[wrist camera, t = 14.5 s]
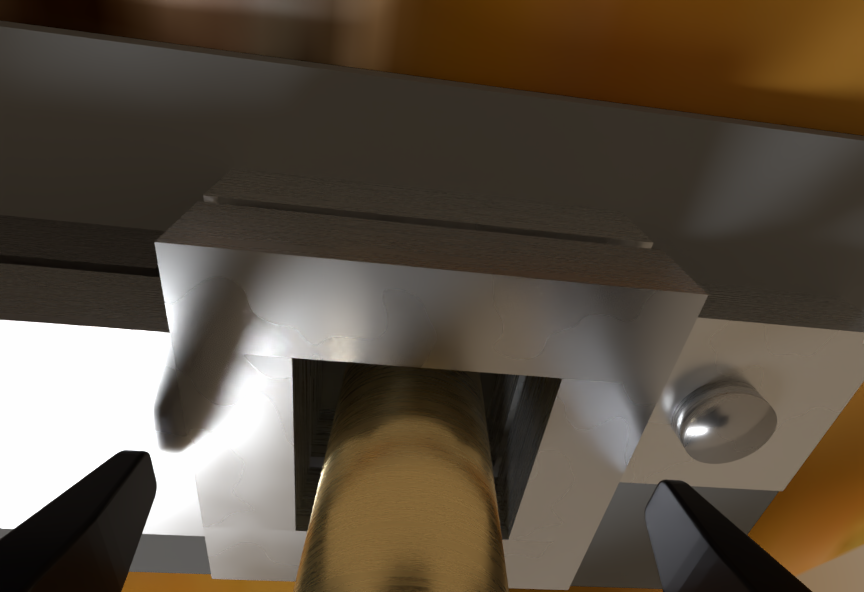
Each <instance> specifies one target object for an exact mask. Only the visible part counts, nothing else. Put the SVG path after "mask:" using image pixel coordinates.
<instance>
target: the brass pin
mask: <svg viewBox="0 0 864 592" xmlns="http://www.w3.org/2000/svg"><path fill="white" fill-rule="evenodd" d="M293 592H509V587H508V580H507V572H506V565H505V557H504V550H503V543H502V535H501V528H500V520H499V513H498V505H497V498H496V490H495V483H494V475H493V468H492V460H491V453H490V445H489V438H488V431H487V423H486V416H485V408H484V401H483V393H482V386H481V378H480V372H472V371H459V370H446V369H432V368H419V367H406V366H392V365H379V364H366V363H353V362H347V365H346V369H345V373H344V377H343V382H342V386H341V390H340V394H339V399H338V403H337V407H336V411H335V416H334V420H333V424H332V428H331V433H330V437H329V441H328V445H327V450H326V454H325V458H324V462H323V467H322V471H321V475H320V479H319V484H318V488H317V492H316V496H315V501H314V505H313V509H312V513H311V518H310V522H309V526H308V530H307V535H306V539H305V543H304V547H303V552H302V556H301V560H300V564H299V569H298V573H297V577H296V581H295V586H294V590H293Z"/></svg>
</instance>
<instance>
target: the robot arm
mask: <svg viewBox="0 0 864 592" xmlns="http://www.w3.org/2000/svg"><path fill="white" fill-rule="evenodd" d="M156 491H157V481H156V477H155V472H154V468H153V464H152V459H151V456H150V454H149V453H148V452H147V451H143V450H122V451H119V452H117V453H116V454H114V455H113V456H112V457H110V458H109V459H108V460H106V461H105V462H104V463H102V464H101V465H100V466H98V467H97V468H95V469H94V470H93V471H91V472H90V473H89V474H87V475H86V476H85V477H83V478H82V479H81V480H79V481H78V482H76V483H75V484H74V485H72V486H71V487H70V488H68V489H67V490H66V491H64V492H63V493H62V494H60V495H59V496H58V497H56V498H55V499H53V500H52V501H51V502H49V503H48V504H47V505H45V506H44V507H43V508H41V509H40V510H39V511H37V512H36V513H34V514H33V515H32V516H30V517H29V518H28V519H26V520H25V521H24V522H22V523H21V524H20V525H18V526H17V527H15V528H14V529H13V530H11V531H10V532H9V533H7V534H6V535H5V536H3V537H2V538H1V539H0V592H121V591H122V588H123V585H124V583H125V580H126V578H127V575H128V572H129V569H130V566H131V564H132V561H133V558H134V555H135V552H136V550H137V547H138V544H139V541H140V538H141V536H142V533H143V530H144V527H145V524H146V522H147V519H148V516H149V513H150V510H151V507H152V505H153V502H154V499H155V496H156ZM645 522H646V526H647V530H648V534H649V538H650V542H651V546H652V550H653V553H654V557H655V561H656V565H657V569H658V573H659V577H660V581H661V585H662V589H663V592H812V591H811V590H810V589H809V588H807V587H806V586H805V585H804V584H803V583H802V582H801V581H799V580H798V579H797V578H796V577H795V576H794V575H792V574H791V573H790V572H789V571H788V570H787V569H786V568H784V567H783V566H782V565H781V564H780V563H779V562H778V561H776V560H775V559H774V558H773V557H772V556H771V555H769V554H768V553H767V552H766V551H765V550H764V549H763V548H761V547H760V546H759V545H758V544H757V543H756V542H755V541H753V540H752V539H751V538H750V537H749V536H748V535H746V534H745V533H744V532H743V531H742V530H741V529H740V528H738V527H737V526H736V525H735V524H734V523H733V522H731V521H730V520H729V519H728V518H727V517H726V516H725V515H723V514H722V513H721V512H720V511H719V510H718V509H717V508H715V507H714V506H713V505H712V504H711V503H710V502H708V501H707V500H706V499H705V498H704V497H703V496H702V495H700V494H699V493H698V492H697V491H696V490H695V489H694V488H692V487H691V486H690V485H689V484H687V483H686V482H684V481H681V480H667V479H665V480H661V481H660V482H659V483H658V484H657V486H656V488H655V490H654V492H653V494H652V496H651V497H650V499H649V501H648V503H647V505H646V508H645Z"/></svg>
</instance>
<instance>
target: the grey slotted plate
mask: <svg viewBox="0 0 864 592" xmlns="http://www.w3.org/2000/svg"><path fill="white" fill-rule="evenodd" d="M203 198H204V202H208V203H218V204H227V205H237V206H247V207H256V208H266V209H276V210H285V211H295V212H304V213H314V214H324V215H333V216H343V217H352V218H362V219H372V220H381V221H391V222H401V223H410V224H420V225H429V226H439V227H449V228H458V229H468V230H477V231H487V232H497V233H506V234H516V235H526V236H535V237H545V238H554V239H564V240H574V241H583V242H593V243H602V244H612V245H622V246H631V247H641V248H650V249H651V247H652V245H653V242H652V241H651V240H650V239H649V238H648V237H647V236H646V235H645V234H644V233H643V232H642V231H641V230H640V229H639V228H638V227H637V226H636V225H635V224H634V223H633V222H632V221H631V220H630V219H629V218H628V217H627V216H626V215H624V214H623V213H622V212H621V211H614V210H605V209H596V208H587V207H578V206H569V205H560V204H551V203H542V202H533V201H524V200H515V199H506V198H497V197H488V196H479V195H470V194H461V193H452V192H443V191H434V190H425V189H416V188H407V187H398V186H389V185H380V184H371V183H362V182H353V181H344V180H335V179H326V178H317V177H308V176H299V175H290V174H281V173H272V172H263V171H254V170H245V169H236V168H232V169H231V170H230V171H229V172H228V173H227V174H226V175H225V176H224V177H222V178H221V179H220V180H219V181H218V182H217V183H216V184H215V185H214V186H213V187H212V188H210V189H209V190H208V191H207V192H206V193H205V194H204V195H203ZM165 232H166V231H161V230H151V229H140V228H130V227H120V226H110V225H99V224H89V223H79V222H69V221H58V220H48V219H38V218H28V217H18V216H7V215H0V263H5V264H16V265H27V266H38V267H50V268H61V269H72V270H83V271H95V272H106V273H117V274H128V275H140V276H151V277H160V273H159V267H158V261H157V255H156V249H155V244H154V242H155V241H156V240H157V239H158V238H159V237H160V236H161V235H162V234H163V233H165ZM697 284H698V285H699V286H700V287H701V288H702V289H703V290H704V291H705V292H706V293H707V294H708V297H707V299H706V301H705V303H704V305H703V307H702V309H701V311H700V314H699V316H698V318H697V320H696V322H695V324H694V326H693V328H692V330H691V333H690V335H689V337H688V339H687V341H686V343H685V345H684V347H683V349H682V351H681V354H680V356H679V358H678V360H677V362H676V364H675V366H674V368H673V370H672V372H671V375H670V377H669V379H668V381H667V383H666V385H665V387H664V389H663V391H662V394H661V396H660V398H659V400H658V402H657V404H656V406H655V408H654V410H653V412H652V415H651V417H650V419H649V421H648V423H647V425H646V427H645V429H644V431H643V434H642V436H641V438H640V440H639V442H638V444H637V446H636V448H635V450H634V452H633V455H632V457H631V459H630V461H629V463H628V465H627V467H626V469H625V471H624V474H623V476H622V478H621V480H620V482H625V483H643V484H658V483H659V482H660V481H661V480H665V479H667V480H681V481H684V482H686V483H687V484H689V485H690V486H698V487H716V488H735V489H753V490H771V491H783V490H784V489H785V488H786V486H787V485H788V484H789V482H790V481H791V479H792V478H793V477H794V475H795V474H796V473H797V471H798V470H799V469H800V467H801V466H802V464H803V463H804V462H805V460H806V459H807V458H808V456H809V455H810V454H811V452H812V451H813V449H814V448H815V447H816V445H817V444H818V443H819V441H820V440H821V439H822V437H823V436H824V435H825V433H826V432H827V430H828V429H829V428H830V426H831V425H832V424H833V422H834V421H835V420H836V418H837V417H838V415H839V414H840V413H841V411H842V410H843V409H844V407H845V406H846V405H847V403H848V402H849V400H850V399H851V398H852V396H853V395H854V394H855V392H856V391H857V390H858V388H859V387H860V386H861V384H862V383H863V381H864V313H863V312H862V311H860V310H859V309H857V308H856V307H854V306H853V305H851V304H850V303H848V302H847V301H845V300H844V299H843V298H841V297H836V296H826V295H815V294H805V293H795V292H785V291H774V290H764V289H754V288H744V287H734V286H723V285H713V284H703V283H697ZM525 377H526V376H525V375H512V374H499V373H497V374H496V378H495V382H494V386H493V390H492V394H491V398H490V402H489V406H488V410H487V414H486V423H487V431H488V438H489V445H490V453H491V460H492V468H493V475H494V477H497V475H498V471H499V468H500V464H501V461H502V457H503V454H504V450H505V447H506V443H507V440H508V436H509V433H510V429H511V426H512V422H513V419H514V415H515V412H516V408H517V405H518V401H519V398H520V394H521V391H522V387H523V384H524V380H525ZM321 393H322V360H313V359H310V443H309V467H320V468H322V467H323V462H324V458H325V454H326V450H327V445H328V441H329V437H330V433H331V428H332V424H333V420H334V416H335V411H336V409H321Z"/></svg>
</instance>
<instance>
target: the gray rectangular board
mask: <svg viewBox="0 0 864 592" xmlns="http://www.w3.org/2000/svg"><path fill="white" fill-rule="evenodd" d="M232 168H236V169H245V170H254V171H263V172H272V173H281V174H290V175H299V176H308V177H317V178H326V179H335V180H344V181H353V182H362V183H371V184H380V185H389V186H398V187H407V188H416V189H425V190H434V191H443V192H452V193H461V194H470V195H479V196H488V197H497V198H506V199H515V200H524V201H533V202H542V203H551V204H560V205H569V206H578V207H587V208H596V209H605V210H614V211H621V212H622V213H623V214H624V215H626V216H627V217H628V218H629V219H630V220H631V221H632V222H633V223H634V224H635V225H636V226H637V227H638V228H639V229H640V230H641V231H642V232H643V233H644V234H645V235H646V236H647V237H648V238H649V239H650V240H651V241H652V242H653V245H652V247H651V249H660V250H663V251H664V252H665V253H666V254H667V255H668V256H669V257H670V258H671V259H672V260H673V261H674V262H675V263H676V264H677V265H678V266H679V267H680V268H681V269H682V270H683V271H684V272H685V273H686V274H687V275H688V276H689V277H690V278H691V279H692V280H693V281H695V282H696V283H703V284H713V285H723V286H734V287H744V288H754V289H764V290H774V291H785V292H795V293H805V294H815V295H826V296H836V297H841V298H843V299H844V300H845V301H847V302H848V303H850V304H851V305H853V306H854V307H856V308H857V309H859V310H860V311H862V312H863V313H864V136H861V135H853V134H846V133H838V132H831V131H823V130H816V129H808V128H801V127H793V126H786V125H778V124H771V123H763V122H756V121H748V120H741V119H733V118H726V117H718V116H711V115H703V114H696V113H688V112H681V111H673V110H666V109H659V108H651V107H644V106H636V105H629V104H621V103H614V102H606V101H599V100H591V99H584V98H576V97H569V96H561V95H554V94H546V93H539V92H531V91H524V90H516V89H509V88H501V87H494V86H486V85H479V84H471V83H464V82H456V81H449V80H441V79H434V78H426V77H419V76H411V75H404V74H396V73H389V72H382V71H374V70H367V69H359V68H352V67H344V66H337V65H329V64H322V63H314V62H307V61H299V60H292V59H284V58H277V57H269V56H262V55H254V54H247V53H239V52H232V51H224V50H217V49H209V48H202V47H194V46H187V45H179V44H172V43H164V42H157V41H149V40H142V39H134V38H127V37H119V36H112V35H105V34H97V33H90V32H82V31H75V30H67V29H60V28H52V27H45V26H37V25H30V24H22V23H15V22H7V21H0V215H7V216H18V217H28V218H38V219H48V220H58V221H69V222H79V223H89V224H99V225H110V226H120V227H130V228H140V229H151V230H161V231H167V230H168V229H169V228H170V227H171V226H172V225H173V224H174V223H175V222H176V221H177V220H179V219H180V218H181V217H182V216H183V215H184V214H185V213H186V212H187V211H188V210H189V209H190V208H192V207H193V206H194V205H195V204H196V203H197V202H198V201H199V202H204V198H203V195H204V194H205V193H206V192H207V191H208V190H209V189H210V188H212V187H213V186H214V185H215V184H216V183H217V182H218V181H219V180H220V179H221V178H222V177H224V176H225V175H226V174H227V173H228V172H229V171H230V170H231V169H232ZM346 365H347V362H339V361H326V360H322V393H321V409H336V407H337V403H338V399H339V394H340V390H341V386H342V382H343V377H344V373H345V369H346ZM496 374H497V373H485V372H480V378H481V386H482V393H483V401H484V408H485V416H486V414H487V410H488V406H489V402H490V398H491V394H492V390H493V386H494V382H495V378H496ZM656 486H657V484H643V483H625V482H619V484H618V486H617V488H616V490H615V492H614V495H613V497H612V499H611V501H610V503H609V505H608V507H607V509H606V511H605V514H604V516H603V518H602V520H601V522H600V524H599V526H598V528H597V530H596V532H595V535H594V537H593V539H592V541H591V543H590V545H589V547H588V549H587V551H586V553H585V556H584V558H583V560H582V562H581V564H580V566H579V568H578V570H577V572H576V575H575V577H574V579H573V581H572V583H571V585H570V586H589V587H619V588H650V589H662V585H661V581H660V577H659V573H658V569H657V565H656V561H655V557H654V553H653V550H652V546H651V542H650V538H649V534H648V530H647V526H646V522H645V508H646V505H647V503H648V501H649V499H650V497H651V496H652V494H653V492H654V490H655V488H656ZM691 487H692V488H694V489H695V490H696V491H697V492H698V493H699V494H700V495H702V496H703V497H704V498H705V499H706V500H707V501H708V502H710V503H711V504H712V505H713V506H714V507H715V508H717V509H718V510H719V511H720V512H721V513H722V514H723V515H725V516H726V517H727V518H728V519H729V520H730V521H731V522H733V523H734V524H735V525H736V526H737V527H738V528H740V529H741V530H742V531H743V532H744V533H745V534H746V535H747V534H748V533H749V532H750V530H751V529H752V527H753V526H754V525H755V523H756V522H757V521H758V519H759V518H760V516H761V515H762V514H763V512H764V511H765V510H766V508H767V507H768V505H769V504H770V503H771V501H772V500H773V499H774V497H775V496H776V494H777V493H778V492H779V491H771V490H753V489H735V488H716V487H698V486H691ZM11 530H13V529H9V528H0V539H1V538H2V537H3V536H5V535H6V534H7V533H9V532H10V531H11ZM129 571H131V572H162V573H192V574H211V570H210V564H209V559H208V553H207V547H206V541H205V536H184V535H159V534H142V536H141V538H140V541H139V544H138V547H137V550H136V552H135V555H134V558H133V561H132V564H131V566H130V569H129Z"/></svg>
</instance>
